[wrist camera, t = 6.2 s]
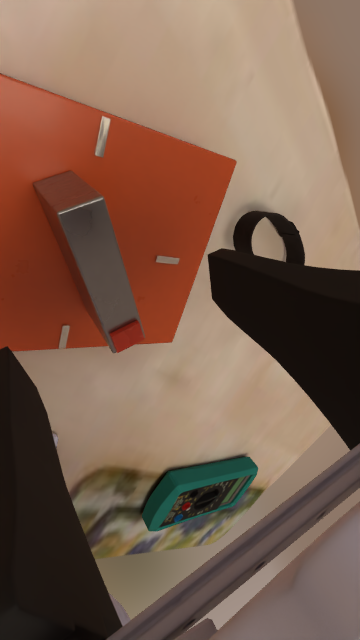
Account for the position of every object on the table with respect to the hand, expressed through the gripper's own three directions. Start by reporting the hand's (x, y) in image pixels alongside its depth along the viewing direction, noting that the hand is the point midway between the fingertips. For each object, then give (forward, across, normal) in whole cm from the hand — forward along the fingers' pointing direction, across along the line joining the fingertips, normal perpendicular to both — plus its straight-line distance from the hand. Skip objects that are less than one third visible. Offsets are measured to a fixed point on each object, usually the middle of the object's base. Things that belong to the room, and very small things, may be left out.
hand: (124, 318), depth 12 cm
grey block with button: (+5, 0, 0) cm, 5 cm away
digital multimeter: (+9, -4, +35) cm, 37 cm away
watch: (+9, -13, +6) cm, 17 cm away
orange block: (+8, 0, 0) cm, 9 cm away
